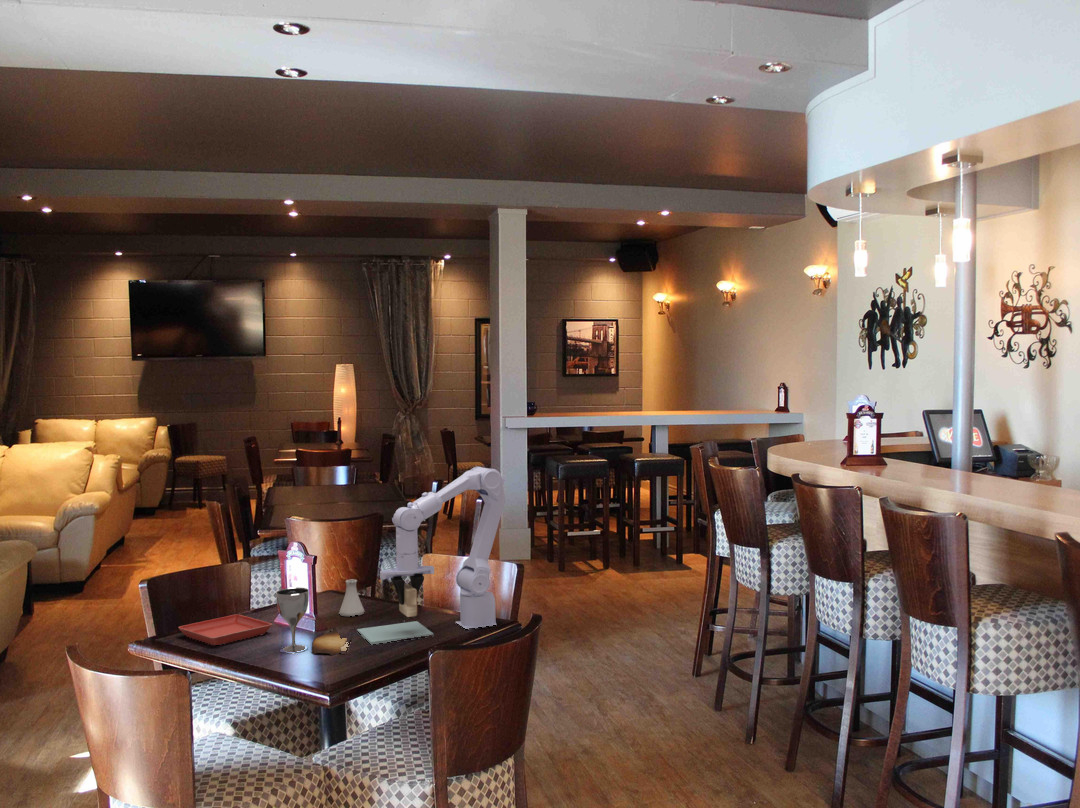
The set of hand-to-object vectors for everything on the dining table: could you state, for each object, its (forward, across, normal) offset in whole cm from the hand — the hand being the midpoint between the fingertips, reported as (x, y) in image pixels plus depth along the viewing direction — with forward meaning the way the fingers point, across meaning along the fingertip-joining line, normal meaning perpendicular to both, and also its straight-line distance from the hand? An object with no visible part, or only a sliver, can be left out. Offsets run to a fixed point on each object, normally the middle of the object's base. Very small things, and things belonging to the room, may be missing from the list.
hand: (407, 603), depth 237 cm
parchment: (+9, +19, -5) cm, 22 cm away
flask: (+9, +7, -30) cm, 33 cm away
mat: (+9, +3, -3) cm, 10 cm away
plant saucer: (+10, +43, -25) cm, 51 cm away
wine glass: (+9, +30, -3) cm, 31 cm away
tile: (+3, 0, 0) cm, 3 cm away
